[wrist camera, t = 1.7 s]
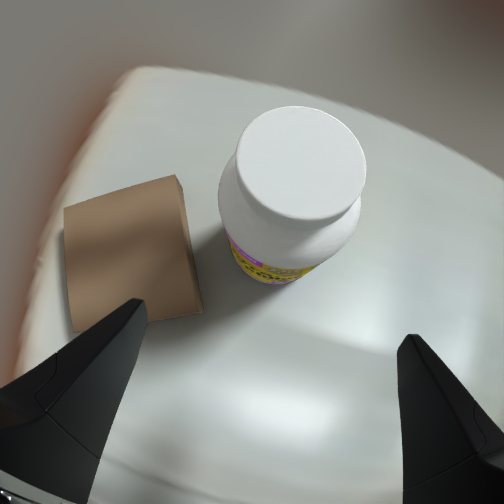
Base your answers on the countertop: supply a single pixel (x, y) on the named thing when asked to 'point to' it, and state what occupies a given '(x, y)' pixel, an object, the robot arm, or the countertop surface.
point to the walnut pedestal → (130, 254)
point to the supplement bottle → (291, 193)
